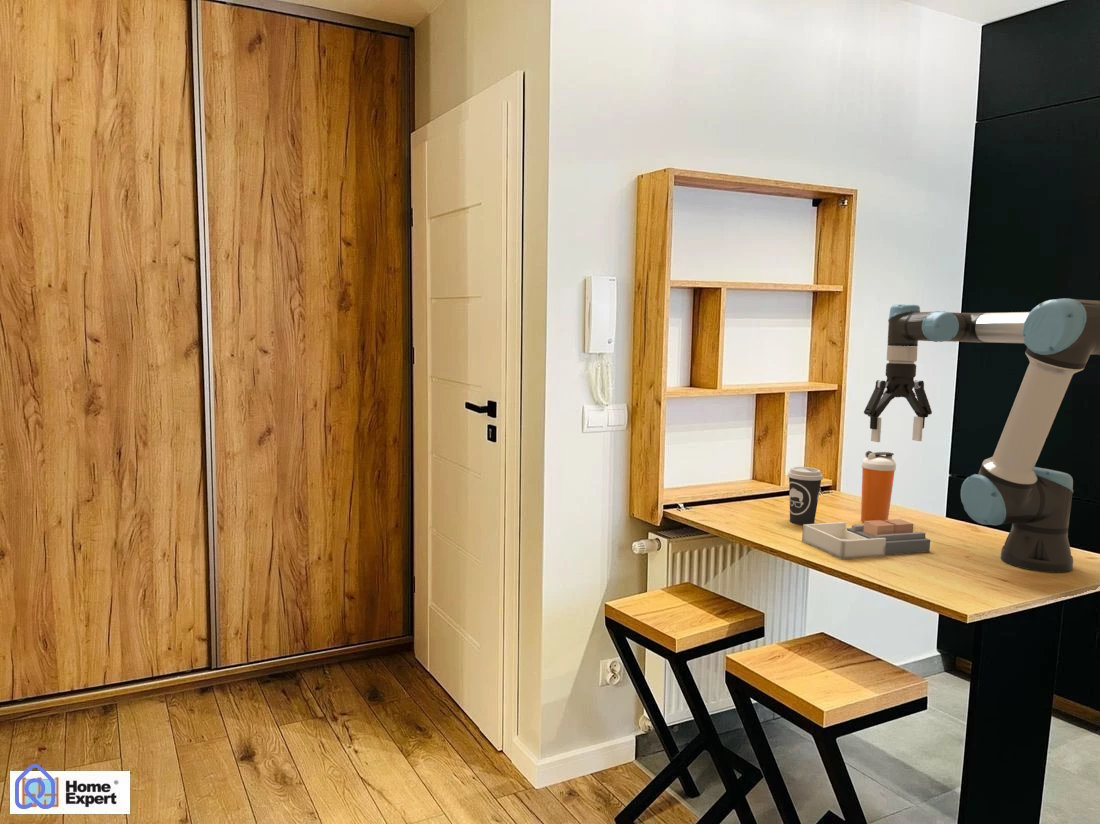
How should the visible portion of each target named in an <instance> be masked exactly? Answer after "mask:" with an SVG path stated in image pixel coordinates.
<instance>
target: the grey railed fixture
mask: <svg viewBox="0 0 1100 824" xmlns="http://www.w3.org/2000/svg"><path fill="white" fill-rule="evenodd" d="M846 530H848V531H850V532H853V533H855V534H857V535H860V536H862V537H865V538H867V539H872V538H886V545H885V556H887V555H889V556H890V555H899V554H901V555H902V554H915V553H927V552H928V553H930V548H931V539H929V538H926V534H927V533H926V532H924V531H919V532H918V531H916V532H913V533H899V534H884V535H876V537H873V536H871V535H868V534H866V533H863V530H864V524H855V525H854V524H853V525H851V527H846Z"/></svg>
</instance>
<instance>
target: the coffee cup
mask: <svg viewBox="0 0 1100 824" xmlns="http://www.w3.org/2000/svg"><path fill="white" fill-rule="evenodd" d="M787 477H788V486H789V487H788V489H789V522H790V523H792V524H793V525H797V526H803V524H815V519H816V513H817V507H818V502H819V496H820V491H821V485H822V480H824V476H823V474H822V472H821V470H820V469H818V468H815V467H809V466H807V467H806V466H792V467H791V468H790V470H789V471H788V473H787Z"/></svg>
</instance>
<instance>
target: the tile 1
mask: <svg viewBox="0 0 1100 824" xmlns="http://www.w3.org/2000/svg"><path fill="white" fill-rule="evenodd" d="M863 525H864V530H863V533H866V534H868V535H871V536H873V537H876V535H884V534H893V531H894V525H893V524H890V523H887V522H884V521H882V520H873V521H864V523H863Z"/></svg>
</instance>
